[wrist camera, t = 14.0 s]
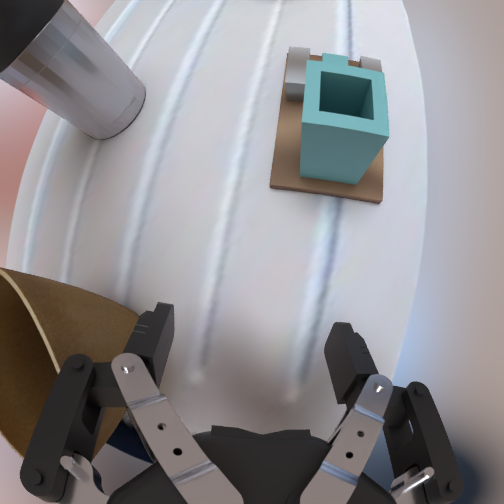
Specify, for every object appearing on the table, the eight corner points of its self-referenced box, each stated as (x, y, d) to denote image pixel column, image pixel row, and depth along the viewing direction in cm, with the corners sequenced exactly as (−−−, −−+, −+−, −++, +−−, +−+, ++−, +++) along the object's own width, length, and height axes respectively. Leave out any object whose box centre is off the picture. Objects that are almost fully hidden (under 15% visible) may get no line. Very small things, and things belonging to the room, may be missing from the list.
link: (299, 176, 23) (301, 122, 14) (309, 66, 24) (310, -1, 14) (356, 185, 22) (389, 136, 13) (356, 73, 23) (371, 9, 14)
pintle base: (379, 203, 23) (397, 188, 18) (270, 187, 24) (264, 168, 20) (375, 71, 24) (384, 42, 19) (287, 58, 25) (285, 28, 20)
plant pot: (126, 420, 25) (37, 488, 10) (60, 317, 27) (-46, 332, 12) (219, 364, 24) (130, 466, 8) (132, 239, 26) (-1, 213, 10)
